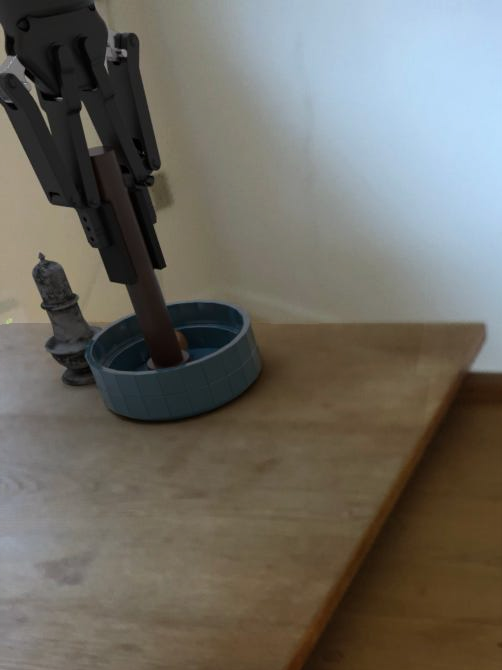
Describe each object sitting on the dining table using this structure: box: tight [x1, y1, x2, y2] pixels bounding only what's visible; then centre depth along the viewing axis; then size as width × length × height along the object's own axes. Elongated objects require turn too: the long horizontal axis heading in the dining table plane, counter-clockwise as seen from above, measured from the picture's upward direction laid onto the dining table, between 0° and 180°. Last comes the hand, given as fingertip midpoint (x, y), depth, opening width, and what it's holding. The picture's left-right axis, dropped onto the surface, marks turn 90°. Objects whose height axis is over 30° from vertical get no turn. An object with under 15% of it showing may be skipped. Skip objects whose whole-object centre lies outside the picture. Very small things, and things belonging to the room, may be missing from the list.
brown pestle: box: [88, 145, 192, 371], centre depth 83 cm, size 4×4×20 cm
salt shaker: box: [31, 251, 104, 387], centre depth 92 cm, size 6×6×12 cm
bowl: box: [85, 299, 263, 422], centre depth 90 cm, size 15×15×5 cm
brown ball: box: [175, 330, 188, 351], centre depth 94 cm, size 3×3×3 cm
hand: (138, 273), depth 83 cm, fingers closed on brown pestle, 3 cm apart
